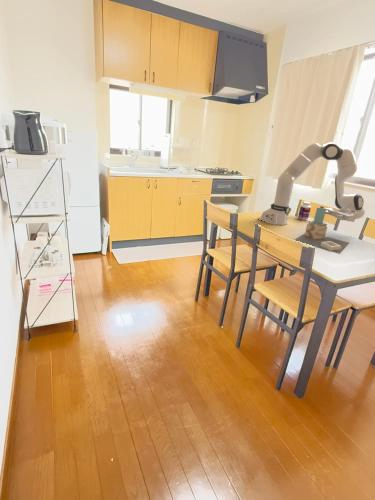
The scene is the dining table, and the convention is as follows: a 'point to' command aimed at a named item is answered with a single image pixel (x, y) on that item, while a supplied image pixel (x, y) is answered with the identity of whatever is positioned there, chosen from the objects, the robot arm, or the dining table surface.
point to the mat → (317, 242)
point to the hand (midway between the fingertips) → (330, 214)
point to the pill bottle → (304, 211)
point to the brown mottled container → (316, 230)
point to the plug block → (319, 215)
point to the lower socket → (330, 245)
